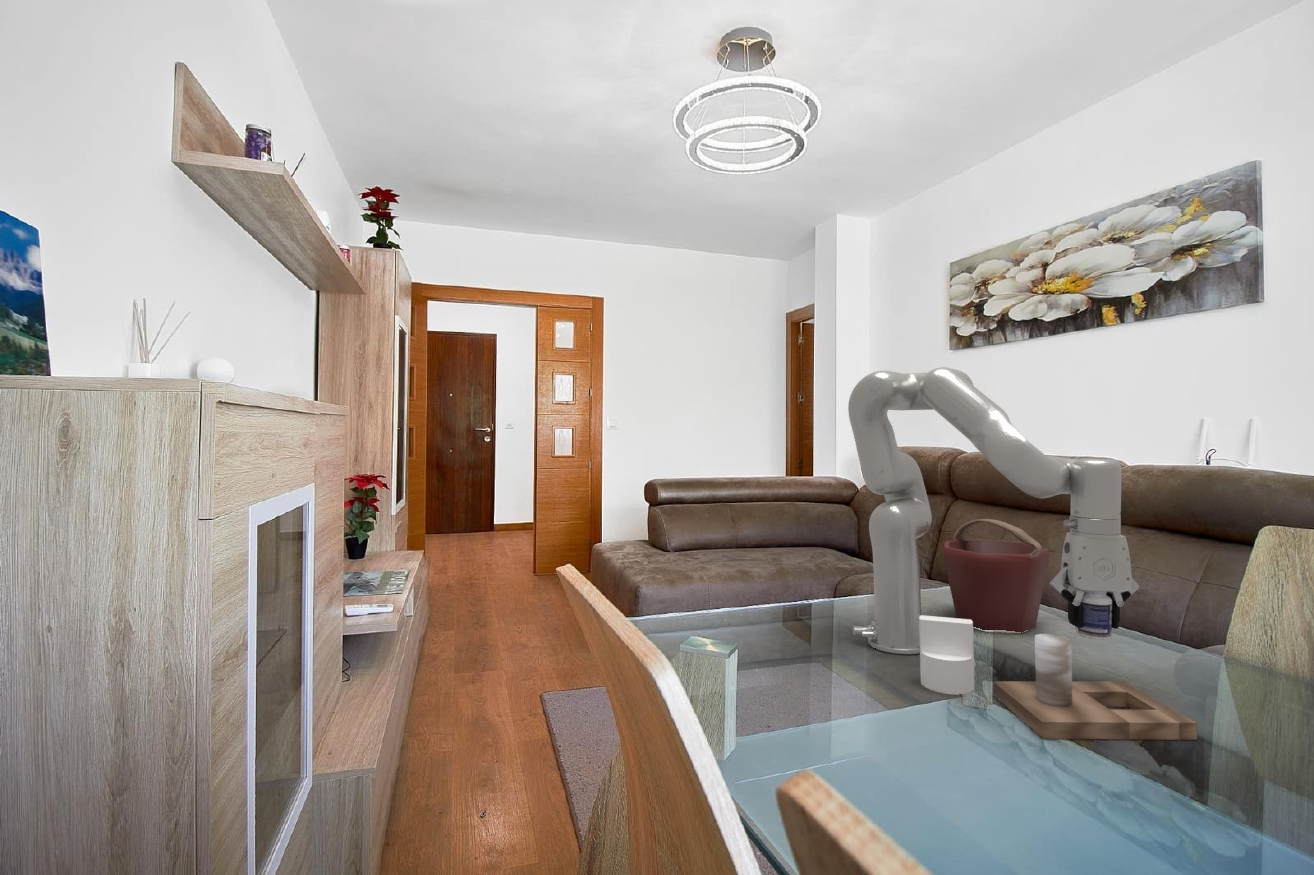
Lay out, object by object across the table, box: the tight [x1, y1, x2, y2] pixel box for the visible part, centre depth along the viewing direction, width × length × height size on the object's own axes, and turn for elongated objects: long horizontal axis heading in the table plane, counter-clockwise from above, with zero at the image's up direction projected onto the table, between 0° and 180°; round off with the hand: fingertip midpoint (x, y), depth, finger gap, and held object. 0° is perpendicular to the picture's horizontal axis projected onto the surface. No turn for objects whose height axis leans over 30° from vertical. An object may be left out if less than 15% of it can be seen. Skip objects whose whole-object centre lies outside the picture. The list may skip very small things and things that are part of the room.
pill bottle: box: [1075, 591, 1113, 641], centre depth 116 cm, size 5×5×10 cm
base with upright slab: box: [919, 614, 975, 696], centre depth 117 cm, size 9×9×12 cm
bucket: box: [943, 518, 1050, 634], centre depth 153 cm, size 24×22×25 cm
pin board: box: [992, 633, 1198, 741], centre depth 103 cm, size 22×16×12 cm
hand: (1093, 625), depth 116 cm, fingers closed on pill bottle, 5 cm apart
